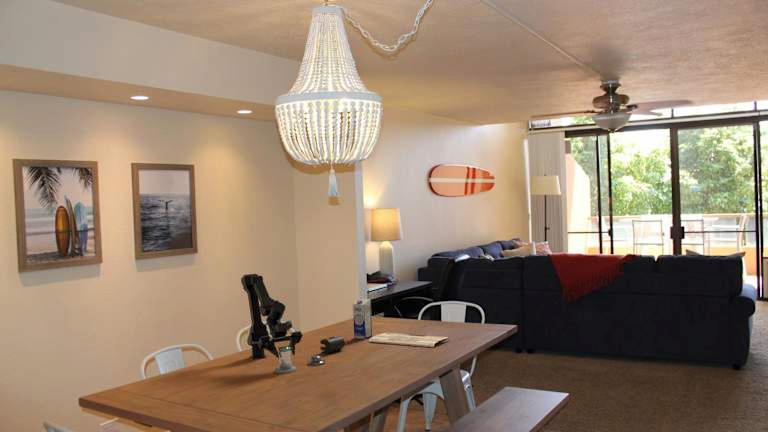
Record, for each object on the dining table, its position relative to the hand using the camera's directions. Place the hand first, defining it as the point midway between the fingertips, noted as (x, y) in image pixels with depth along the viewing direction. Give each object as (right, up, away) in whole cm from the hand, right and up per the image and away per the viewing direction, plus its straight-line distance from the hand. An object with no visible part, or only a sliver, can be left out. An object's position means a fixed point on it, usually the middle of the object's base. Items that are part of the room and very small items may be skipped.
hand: (286, 356), depth 287 cm
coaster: (0, -6, +1) cm, 7 cm away
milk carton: (+31, -4, +64) cm, 71 cm away
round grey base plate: (+12, -6, +12) cm, 18 cm away
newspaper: (+54, -4, +49) cm, 73 cm away
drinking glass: (0, -5, +1) cm, 6 cm away
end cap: (+17, -5, +34) cm, 39 cm away
